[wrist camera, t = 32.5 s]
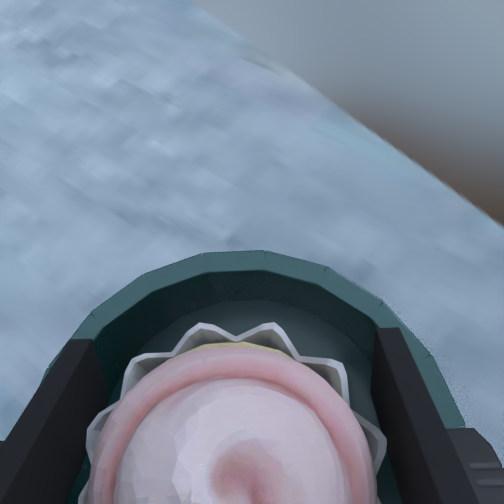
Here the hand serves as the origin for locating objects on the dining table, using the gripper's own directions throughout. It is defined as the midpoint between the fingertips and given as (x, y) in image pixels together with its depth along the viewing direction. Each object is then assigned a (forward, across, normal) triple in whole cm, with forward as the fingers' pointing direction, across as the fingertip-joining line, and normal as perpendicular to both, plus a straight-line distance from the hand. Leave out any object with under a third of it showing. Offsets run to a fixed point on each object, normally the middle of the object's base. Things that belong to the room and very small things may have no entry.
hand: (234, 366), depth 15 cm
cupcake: (+1, 0, -5) cm, 5 cm away
